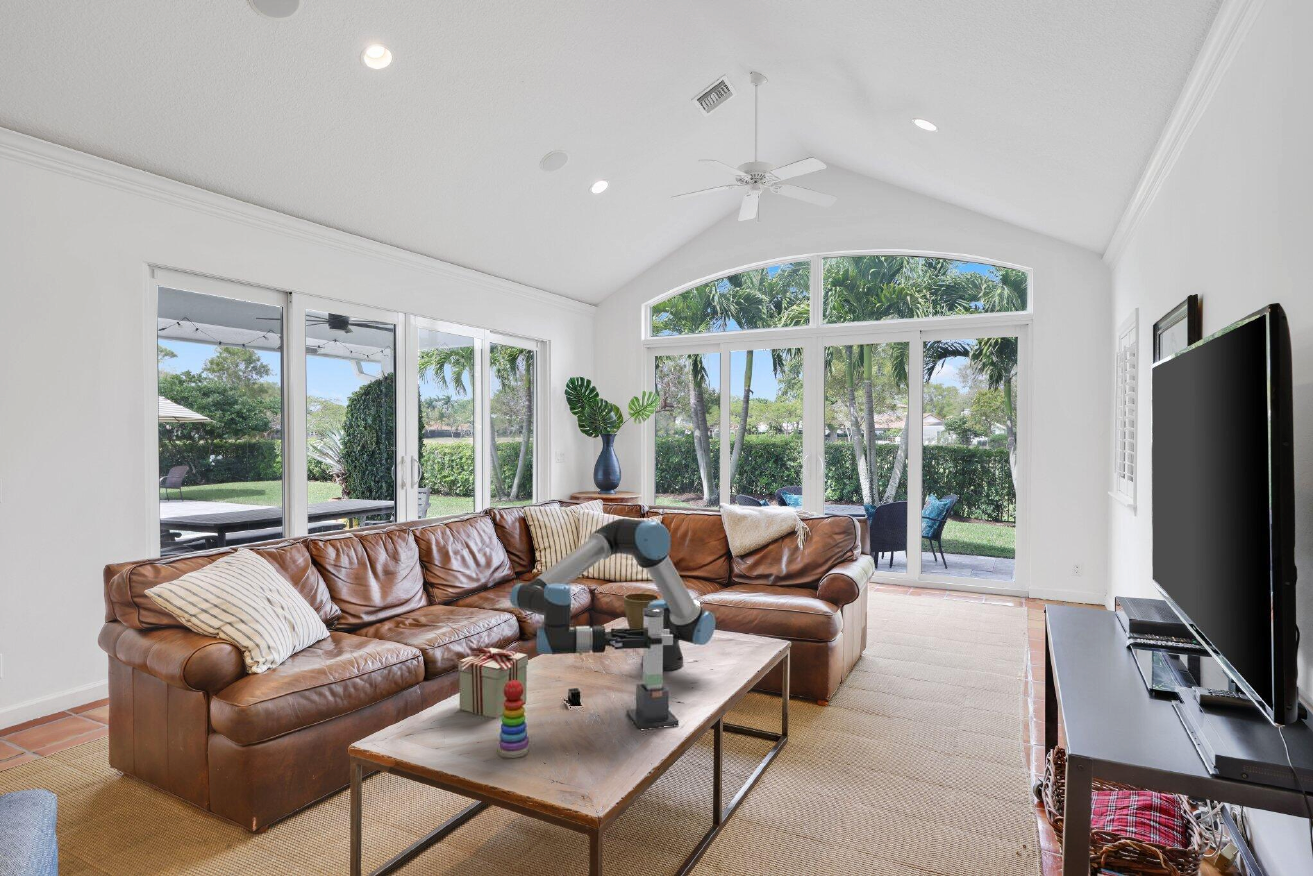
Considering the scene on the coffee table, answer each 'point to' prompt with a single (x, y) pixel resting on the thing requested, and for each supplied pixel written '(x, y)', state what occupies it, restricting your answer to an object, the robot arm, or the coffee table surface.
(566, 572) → the robot arm
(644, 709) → the stand base
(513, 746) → the stacking toy
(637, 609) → the plant pot
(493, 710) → the gift box
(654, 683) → the stand post
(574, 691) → the black rectangular block
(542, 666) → the coffee table surface
